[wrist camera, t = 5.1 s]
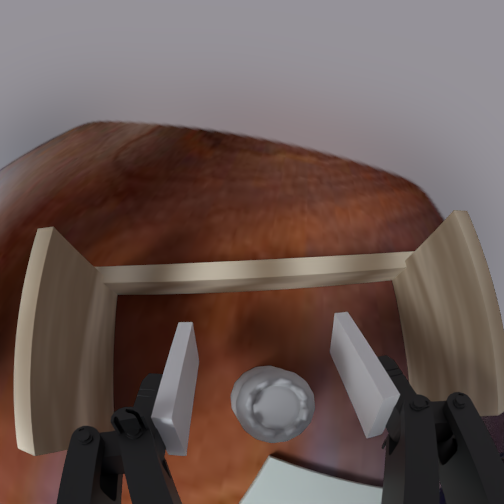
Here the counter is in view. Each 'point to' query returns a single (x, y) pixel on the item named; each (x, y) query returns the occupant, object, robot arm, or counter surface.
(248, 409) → the rook chess piece
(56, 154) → the counter surface
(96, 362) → the stall
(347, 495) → the tile
